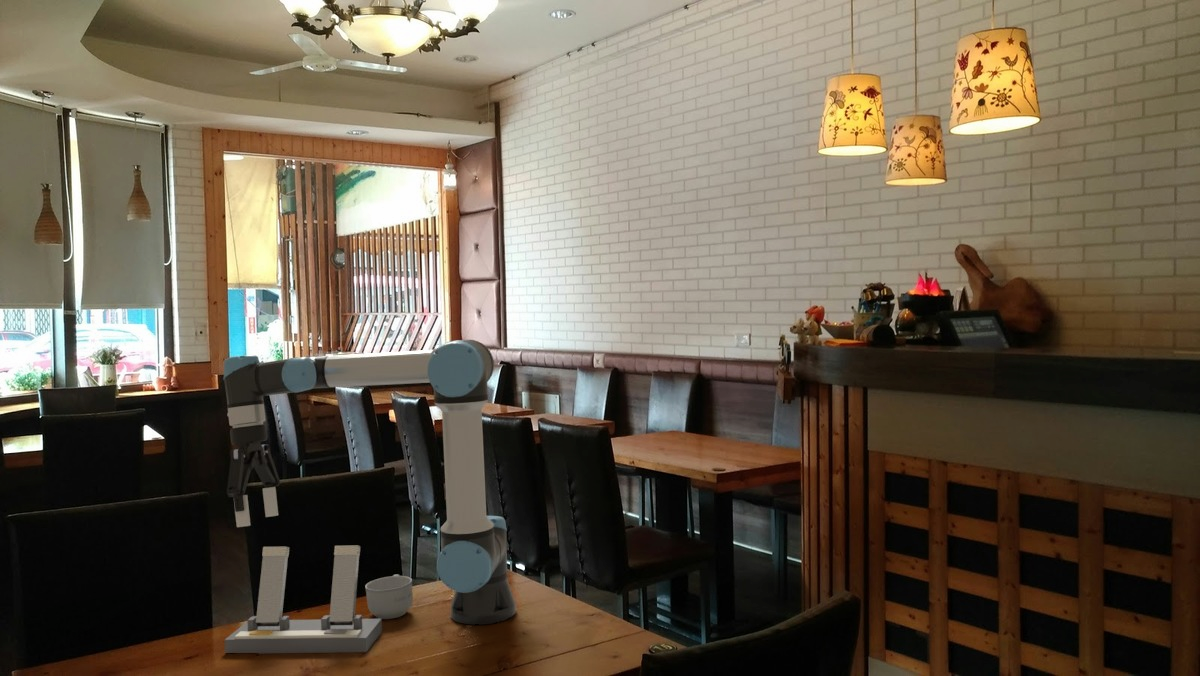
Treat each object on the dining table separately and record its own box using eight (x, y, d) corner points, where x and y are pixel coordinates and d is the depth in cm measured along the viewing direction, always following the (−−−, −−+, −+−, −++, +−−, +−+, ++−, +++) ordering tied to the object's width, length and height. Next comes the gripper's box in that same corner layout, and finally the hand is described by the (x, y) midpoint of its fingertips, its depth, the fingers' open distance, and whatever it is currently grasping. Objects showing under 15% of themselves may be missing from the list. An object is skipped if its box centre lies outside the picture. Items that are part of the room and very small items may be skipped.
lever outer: (281, 626, 194) (289, 547, 199) (277, 626, 192) (285, 546, 197) (259, 626, 194) (267, 547, 199) (254, 626, 192) (263, 546, 197)
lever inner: (354, 625, 194) (360, 546, 199) (351, 625, 191) (357, 545, 197) (331, 625, 194) (338, 546, 199) (328, 625, 191) (334, 545, 197)
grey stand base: (381, 631, 199) (381, 607, 198) (366, 652, 187) (365, 626, 187) (248, 633, 199) (248, 609, 199) (225, 653, 187) (224, 628, 187)
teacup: (401, 624, 204) (400, 589, 204) (357, 621, 206) (356, 587, 206) (425, 604, 217) (424, 572, 217) (384, 602, 220) (383, 570, 219)
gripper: (257, 424, 210) (267, 514, 209) (202, 431, 185) (213, 533, 184) (288, 420, 210) (298, 510, 209) (236, 426, 185) (248, 528, 184)
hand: (258, 521), depth 197 cm, fingers open, 13 cm apart
